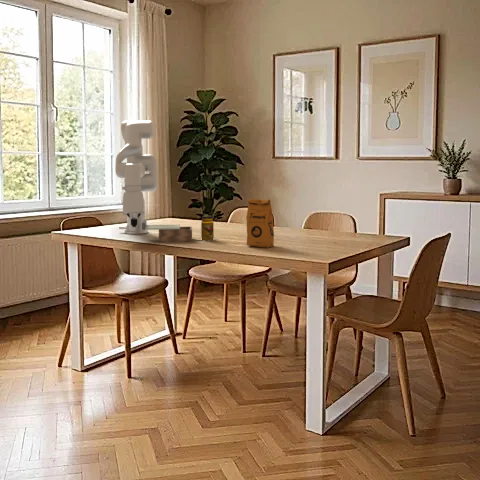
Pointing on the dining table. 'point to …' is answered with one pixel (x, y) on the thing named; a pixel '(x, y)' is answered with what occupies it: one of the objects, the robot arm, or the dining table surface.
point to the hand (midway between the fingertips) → (134, 226)
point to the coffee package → (260, 224)
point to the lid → (158, 226)
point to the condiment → (207, 228)
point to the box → (176, 235)
